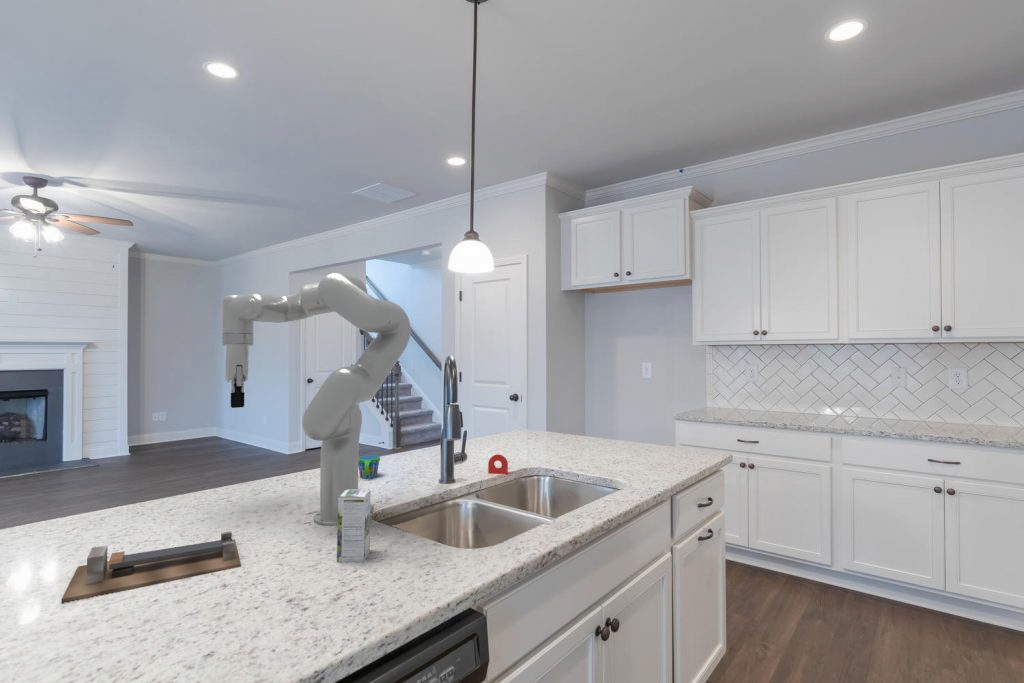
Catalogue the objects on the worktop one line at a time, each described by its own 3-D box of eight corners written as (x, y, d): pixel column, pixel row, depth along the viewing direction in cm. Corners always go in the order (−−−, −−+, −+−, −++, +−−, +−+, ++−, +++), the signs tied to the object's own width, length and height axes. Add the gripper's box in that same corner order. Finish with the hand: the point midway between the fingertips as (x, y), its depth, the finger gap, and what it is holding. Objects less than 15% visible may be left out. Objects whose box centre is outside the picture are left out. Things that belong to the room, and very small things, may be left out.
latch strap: (231, 543, 114) (232, 533, 114) (233, 551, 110) (233, 541, 110) (112, 562, 103) (112, 552, 103) (108, 572, 98) (109, 561, 98)
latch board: (234, 544, 119) (235, 518, 119) (240, 569, 105) (241, 540, 105) (78, 572, 104) (78, 542, 104) (61, 606, 90) (61, 571, 91)
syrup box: (343, 555, 113) (343, 489, 113) (370, 554, 113) (370, 488, 113) (336, 566, 107) (336, 496, 107) (365, 565, 108) (365, 495, 108)
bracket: (486, 479, 178) (486, 456, 178) (488, 476, 183) (489, 454, 183) (520, 481, 176) (520, 458, 176) (522, 478, 181) (522, 455, 181)
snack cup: (361, 474, 184) (361, 454, 184) (382, 474, 184) (382, 453, 184) (353, 483, 173) (353, 461, 173) (376, 483, 173) (376, 460, 173)
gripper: (220, 340, 146) (220, 405, 146) (223, 339, 133) (223, 411, 133) (250, 340, 150) (250, 403, 149) (256, 340, 137) (255, 409, 137)
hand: (237, 407), depth 141 cm, fingers closed
